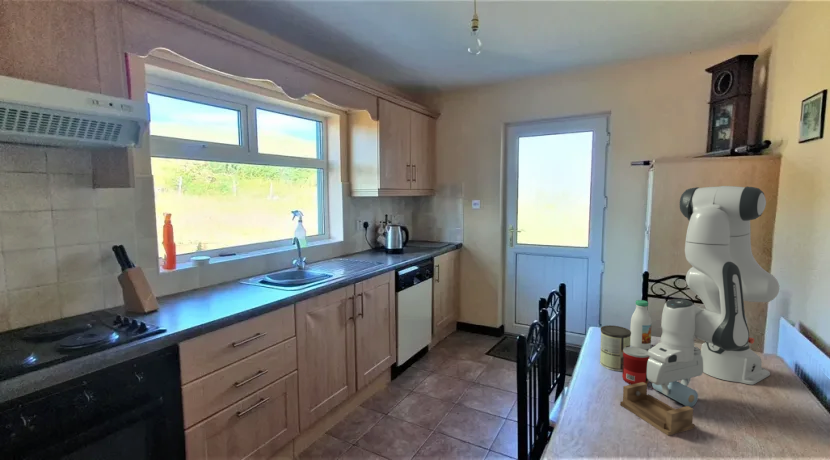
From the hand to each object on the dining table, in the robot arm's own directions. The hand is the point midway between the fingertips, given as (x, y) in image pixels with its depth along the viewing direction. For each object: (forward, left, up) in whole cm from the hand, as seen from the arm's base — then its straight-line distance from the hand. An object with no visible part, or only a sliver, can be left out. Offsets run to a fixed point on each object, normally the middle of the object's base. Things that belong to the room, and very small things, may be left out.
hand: (674, 391), depth 122 cm
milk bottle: (-25, -35, -3) cm, 43 cm away
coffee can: (-1, -25, -3) cm, 25 cm away
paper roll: (0, 0, -2) cm, 2 cm away
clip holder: (+14, +5, -2) cm, 15 cm away
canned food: (+2, -13, -3) cm, 13 cm away
